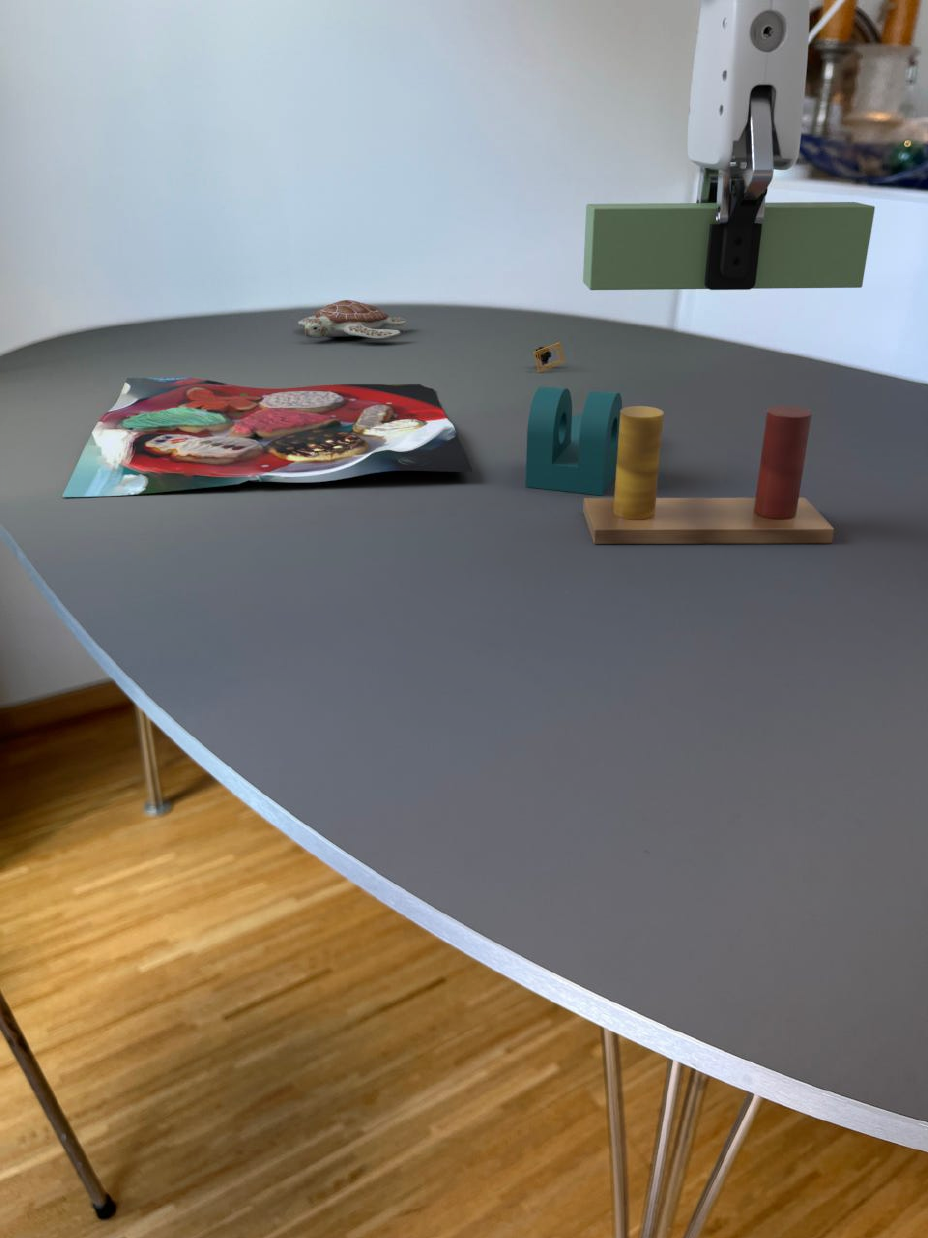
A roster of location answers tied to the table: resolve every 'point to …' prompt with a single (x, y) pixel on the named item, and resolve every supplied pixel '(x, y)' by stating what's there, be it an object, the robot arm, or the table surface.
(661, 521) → the rods
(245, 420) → the printed food placemat
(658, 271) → the bar
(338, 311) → the decorative turtle
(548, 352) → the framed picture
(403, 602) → the table surface
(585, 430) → the bracket
